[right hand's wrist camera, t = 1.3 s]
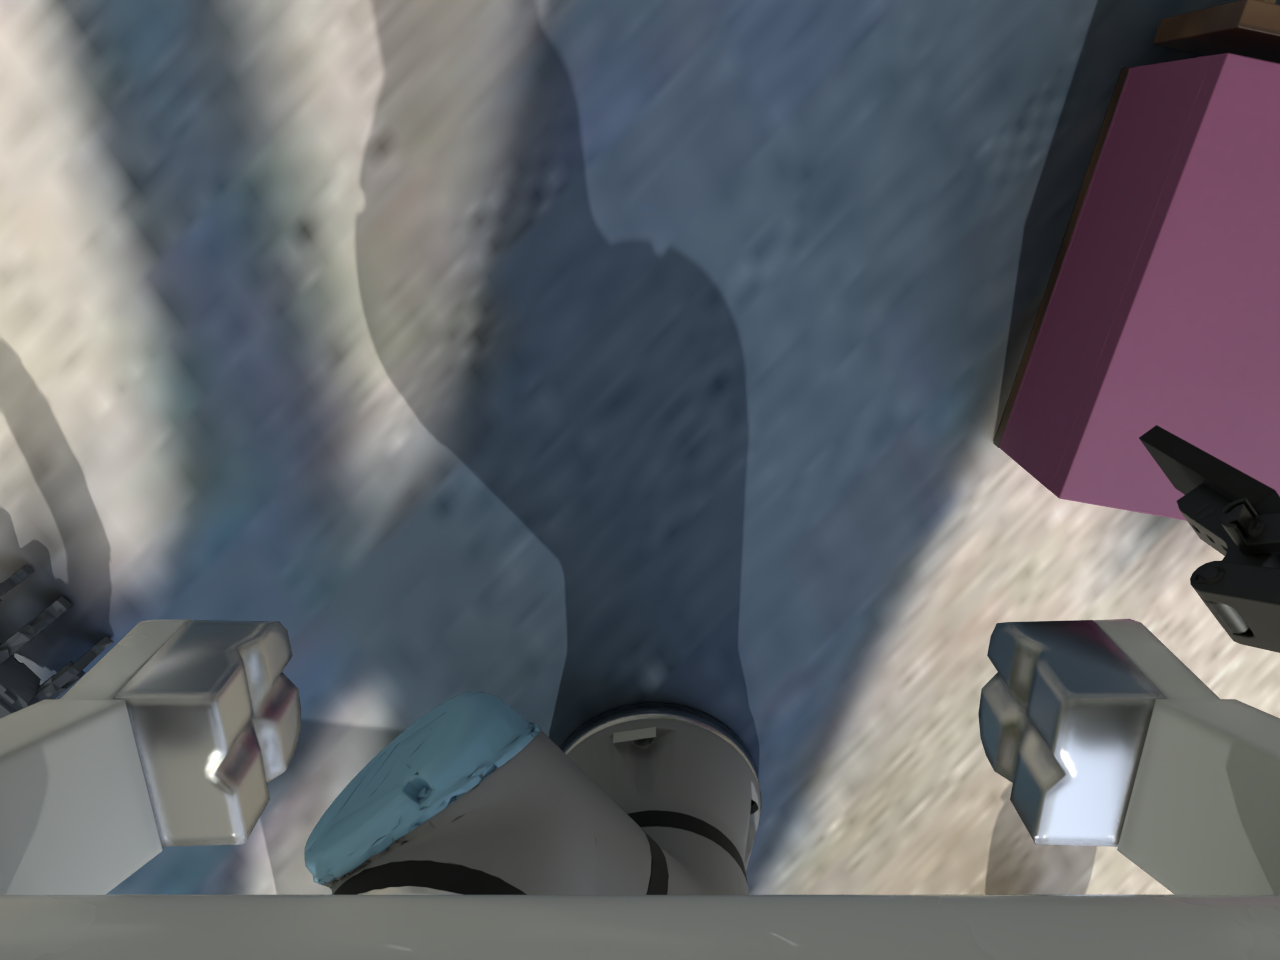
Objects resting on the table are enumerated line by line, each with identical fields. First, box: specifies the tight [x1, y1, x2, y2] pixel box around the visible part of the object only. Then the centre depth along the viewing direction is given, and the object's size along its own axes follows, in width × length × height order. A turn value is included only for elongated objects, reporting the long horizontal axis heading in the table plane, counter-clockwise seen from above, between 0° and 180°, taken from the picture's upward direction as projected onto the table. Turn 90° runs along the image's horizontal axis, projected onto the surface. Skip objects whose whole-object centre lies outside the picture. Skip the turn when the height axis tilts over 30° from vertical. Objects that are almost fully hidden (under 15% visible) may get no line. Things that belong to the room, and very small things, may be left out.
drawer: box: [1153, 0, 1280, 64], centre depth 45 cm, size 26×10×7 cm, turn 170°
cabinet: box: [994, 53, 1280, 521], centre depth 47 cm, size 21×12×9 cm, turn 170°
